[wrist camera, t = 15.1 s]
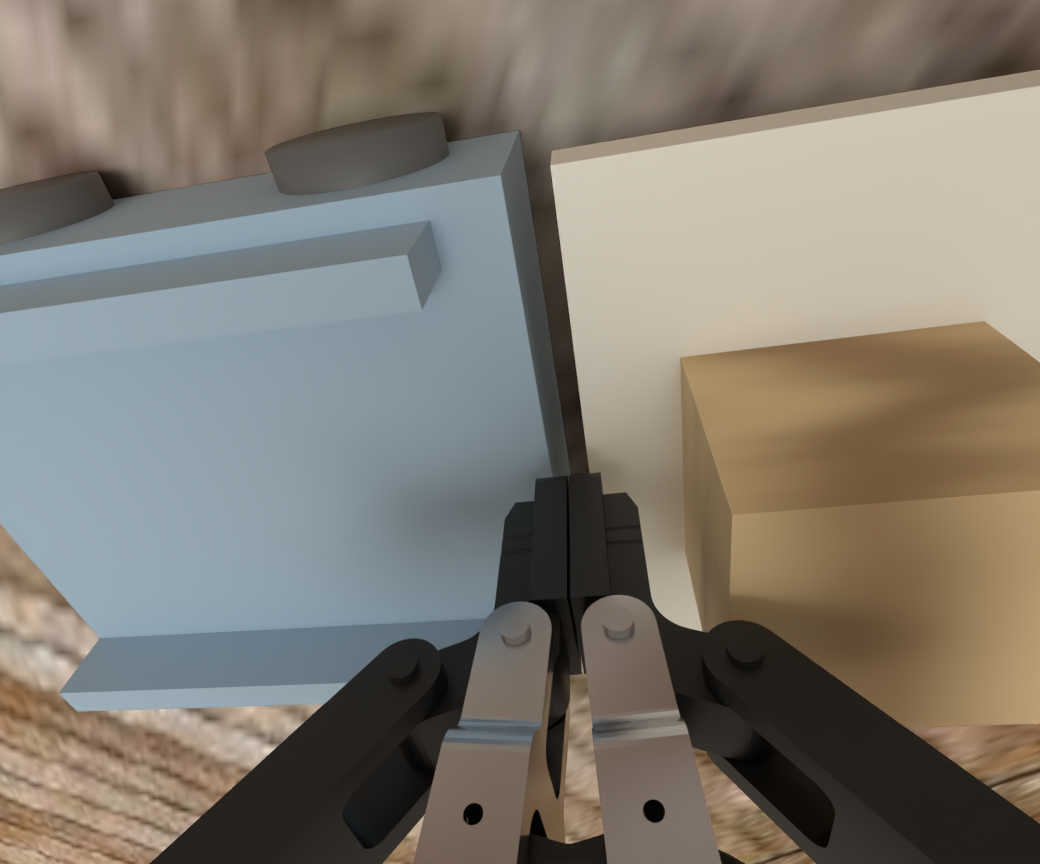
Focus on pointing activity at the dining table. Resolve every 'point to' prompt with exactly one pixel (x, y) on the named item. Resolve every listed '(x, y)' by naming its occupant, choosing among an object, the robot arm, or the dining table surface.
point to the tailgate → (784, 259)
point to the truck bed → (275, 409)
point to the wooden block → (876, 513)
